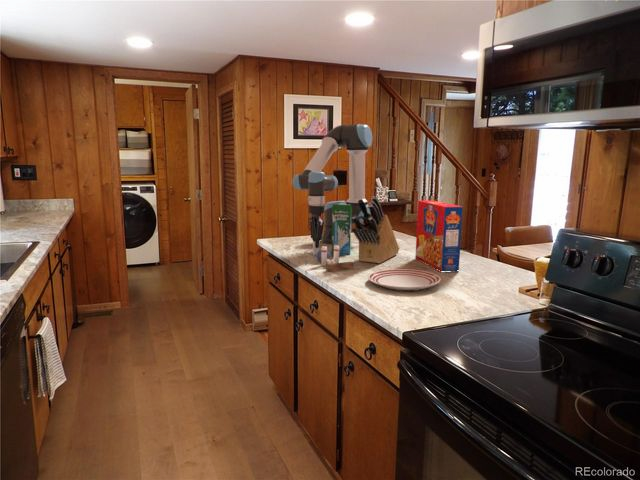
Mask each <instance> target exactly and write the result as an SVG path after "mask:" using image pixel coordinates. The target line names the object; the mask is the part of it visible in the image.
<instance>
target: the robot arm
mask: <svg viewBox="0 0 640 480" xmlns="http://www.w3.org/2000/svg"><path fill="white" fill-rule="evenodd" d="M372 144H373V132H372V130H371V128H370V126H369V125H367V124H363V123H362V124H361V123H358V124H340V125H338V126H337V125H336V126H335V127H333V128H331V130H329V131H328V132H327V133H326V134H325V136H324V137H323V138H322V139H321V145H320V146H319V147H318V149H317V150H316V152H315V153H314V154H313V157H312V158H311V159H310V161H309V162H308V164H307V165H306V167H305V168H304V169H303V171H302V172H301V174H300V173H298V174H295V175H294V176H293V178H292V186H293V188H294V190H295V189H296V190H299V191H308V198H307V200H308V208H307V209H308V210H307V211H308V214H311V216H310V217H309V218H308V223H309V231H310V232H309V233H310V239H312V255H316V256H317V253H318V251H319V250H320V241H321V242H322V243H325V244H331V245H332V208H333V204H338V205H339V204H340V203H342V204H346V205H351V226H356V225H355V222H354V220H353V219H352V217H353V216H356V217H357V218H358V217H359V216H363V217H364V214H363V212H362V211H361V209H360V207H359V204H358V201H359V200H363V202H364V203H365V205H366V208H367V212H368V213H369V214H371V213H370V209H369V208H368V205H369V202H368V200H367V199H366V153H367V152H368V151H369V148H370V147H371V146H372ZM339 148H346V152H347V153H348V154H349V155H348V158H349V159H348V162H349V163H348V166H349V167H348V174H349V175H348V182H349V183H348V187H349V188H348V193H349V194H348V196H349V197H348V199H346V200H337V201H328V202H326V200H325V199H326V195H325V192H332V191H334V190H336V189H337V188H338V185H339V181H338V179H337V176H335V175H333V174H327V175H325V172H323V171H322V170H323V169H324V168H325V166H326V164H327V163H328V161H329V160H330V158H331V156H332V155H333V153H334V152H337V151H338V150H339ZM323 214H324V220H323V218H322V215H323ZM359 221H360V223H362V221H363V219H362V218H359Z"/></svg>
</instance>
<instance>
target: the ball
mask: <svg viewBox="0 0 640 480" xmlns="http://www.w3.org/2000/svg"><path fill="white" fill-rule="evenodd" d="M321 250H322V248H321V249H319V251H318V253H317V254H316V259H317V260H318V261H319V262H321ZM330 257H331V253H330V252H329V250H327V259H329V260H330Z"/></svg>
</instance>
